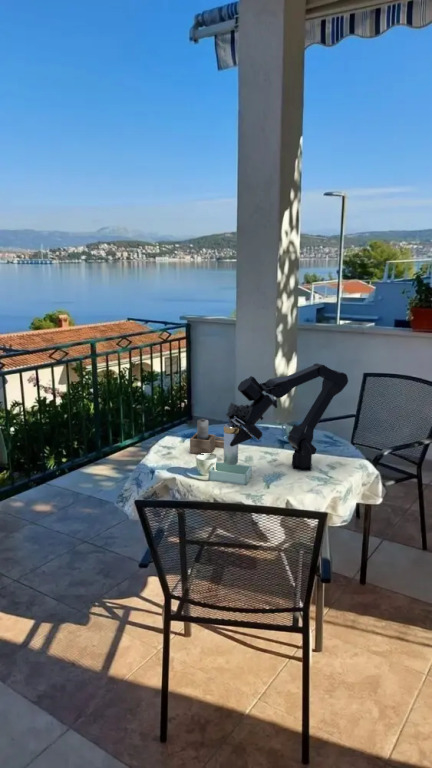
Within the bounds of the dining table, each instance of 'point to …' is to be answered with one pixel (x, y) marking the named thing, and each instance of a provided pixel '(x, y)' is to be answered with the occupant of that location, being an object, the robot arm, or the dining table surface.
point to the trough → (231, 473)
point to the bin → (202, 439)
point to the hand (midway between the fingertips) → (227, 443)
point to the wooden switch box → (219, 442)
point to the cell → (229, 451)
